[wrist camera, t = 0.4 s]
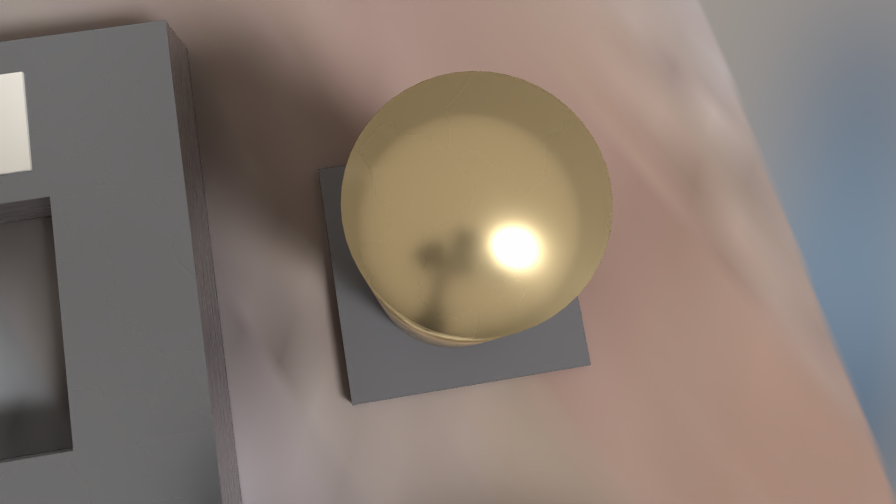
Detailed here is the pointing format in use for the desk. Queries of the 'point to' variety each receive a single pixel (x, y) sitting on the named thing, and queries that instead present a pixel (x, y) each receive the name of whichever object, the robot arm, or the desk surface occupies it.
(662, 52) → the desk surface
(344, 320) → the grey square plate
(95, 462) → the plate
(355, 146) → the brass knob
